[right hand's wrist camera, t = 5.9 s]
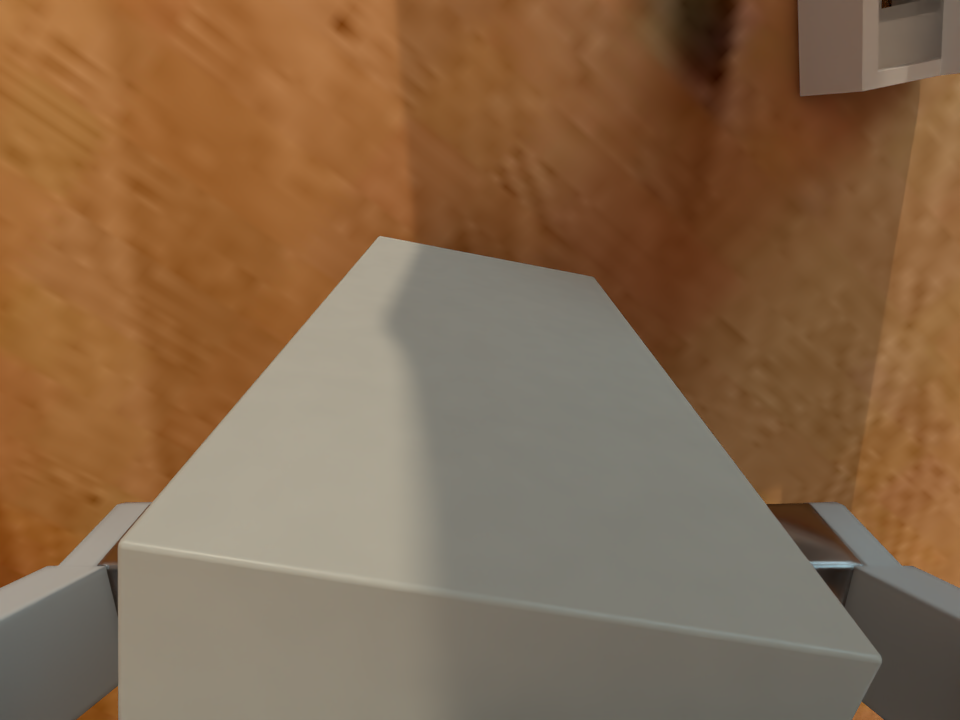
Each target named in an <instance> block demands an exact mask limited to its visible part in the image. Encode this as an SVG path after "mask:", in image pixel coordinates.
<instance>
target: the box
mask: <svg viewBox="0 0 960 720" xmlns="http://www.w3.org/2000/svg"><path fill="white" fill-rule="evenodd" d="M881 664H882V658H881V655H880V654H879V653H878V651H877V650H876V649H875V647H874V646H873V645H872V643H871V642H870V641H869V640H868V638H867V637H866V636H865V634H864V633H863V632H862V630H861V629H860V628H859V626H858V625H857V624H856V622H855V621H854V620H853V618H852V617H851V616H850V614H849V613H848V612H847V611H846V609H845V608H844V607H843V605H842V604H841V603H840V601H839V600H838V599H837V597H836V596H835V595H834V593H833V592H832V591H831V589H830V588H829V587H828V585H827V584H826V583H825V581H824V580H823V579H822V578H821V576H820V575H819V574H818V572H817V571H816V570H815V568H814V567H813V566H812V564H811V563H810V562H809V560H808V559H807V558H806V556H805V555H804V554H803V552H802V551H801V550H800V549H799V547H798V546H797V545H796V543H795V542H794V541H793V539H792V538H791V537H790V535H789V534H788V533H787V531H786V530H785V529H784V527H783V526H782V525H781V523H780V522H779V521H778V519H777V518H776V517H775V516H774V514H773V513H772V512H771V510H770V509H769V508H768V506H767V505H766V504H765V502H764V501H763V500H762V498H761V497H760V496H759V494H758V493H757V492H756V490H755V489H754V488H753V487H752V485H751V484H750V483H749V481H748V480H747V479H746V477H745V476H744V475H743V473H742V472H741V471H740V469H739V468H738V467H737V465H736V464H735V463H734V461H733V460H732V459H731V457H730V456H729V455H728V454H727V452H726V451H725V450H724V448H723V447H722V446H721V444H720V443H719V442H718V440H717V439H716V438H715V436H714V435H713V434H712V432H711V431H710V430H709V428H708V427H707V426H706V425H705V423H704V422H703V421H702V419H701V418H700V417H699V415H698V414H697V413H696V411H695V410H694V409H693V407H692V406H691V405H690V403H689V402H688V401H687V399H686V398H685V397H684V395H683V394H682V393H681V392H680V390H679V389H678V388H677V386H676V385H675V384H674V382H673V381H672V380H671V378H670V377H669V376H668V374H667V373H666V372H665V370H664V369H663V368H662V366H661V365H660V364H659V363H658V361H657V360H656V359H655V357H654V356H653V355H652V353H651V352H650V351H649V349H648V348H647V347H646V345H645V344H644V343H643V341H642V340H641V339H640V337H639V336H638V335H637V333H636V332H635V331H634V330H633V328H632V327H631V326H630V324H629V323H628V322H627V320H626V319H625V318H624V316H623V315H622V314H621V312H620V311H619V310H618V308H617V307H616V306H615V304H614V303H613V302H612V301H611V299H610V298H609V297H608V295H607V294H606V293H605V291H604V290H603V289H602V287H601V286H600V285H599V283H598V282H597V281H596V279H595V278H594V277H592V276H587V275H581V274H576V273H571V272H566V271H560V270H555V269H550V268H545V267H539V266H534V265H529V264H524V263H519V262H513V261H508V260H503V259H498V258H492V257H487V256H482V255H477V254H471V253H466V252H461V251H456V250H451V249H445V248H440V247H435V246H430V245H424V244H419V243H414V242H409V241H404V240H398V239H393V238H388V237H383V236H379V237H378V238H377V239H376V240H375V241H374V243H373V244H372V245H371V246H370V247H369V248H368V250H367V251H366V252H365V253H364V254H363V256H362V257H361V258H360V259H359V260H358V261H357V263H356V264H355V265H354V266H353V267H352V268H351V270H350V271H349V272H348V273H347V274H346V276H345V277H344V278H343V279H342V280H341V281H340V283H339V284H338V285H337V286H336V287H335V288H334V290H333V291H332V292H331V293H330V294H329V295H328V297H327V298H326V299H325V300H324V301H323V303H322V304H321V305H320V306H319V307H318V308H317V310H316V311H315V312H314V313H313V314H312V315H311V317H310V318H309V319H308V320H307V321H306V322H305V324H304V325H303V326H302V327H301V328H300V330H299V331H298V332H297V333H296V334H295V335H294V337H293V338H292V339H291V340H290V341H289V342H288V344H287V345H286V346H285V347H284V348H283V349H282V351H281V352H280V353H279V354H278V355H277V357H276V358H275V359H274V360H273V361H272V362H271V364H270V365H269V366H268V367H267V368H266V369H265V371H264V372H263V373H262V374H261V375H260V376H259V378H258V379H257V380H256V381H255V382H254V384H253V385H252V386H251V387H250V388H249V389H248V391H247V392H246V393H245V394H244V395H243V396H242V398H241V399H240V400H239V401H238V402H237V404H236V405H235V406H234V407H233V408H232V409H231V411H230V412H229V413H228V414H227V415H226V416H225V418H224V419H223V420H222V421H221V422H220V423H219V425H218V426H217V427H216V428H215V429H214V431H213V432H212V433H211V434H210V435H209V436H208V438H207V439H206V440H205V441H204V442H203V443H202V445H201V446H200V447H199V448H198V449H197V450H196V452H195V453H194V454H193V455H192V456H191V458H190V459H189V460H188V461H187V462H186V463H185V465H184V466H183V467H182V468H181V469H180V470H179V472H178V473H177V474H176V475H175V476H174V477H173V479H172V480H171V481H170V482H169V483H168V485H167V486H166V487H165V488H164V489H163V490H162V492H161V493H160V494H159V495H158V496H157V497H156V499H155V500H154V501H153V502H152V503H151V504H150V506H149V507H148V508H147V509H146V510H145V512H144V513H143V514H142V515H141V516H140V517H139V519H138V520H137V521H136V522H135V523H134V524H133V526H132V527H131V528H130V529H129V530H128V532H127V533H126V534H125V535H124V536H123V537H122V539H121V540H120V542H119V543H118V720H852V718H853V716H854V715H855V713H856V711H857V709H858V707H859V705H860V703H861V701H862V700H863V698H864V696H865V694H866V692H867V690H868V688H869V686H870V685H871V683H872V681H873V679H874V677H875V675H876V673H877V671H878V669H879V668H880V666H881Z"/></svg>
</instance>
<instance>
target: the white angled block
mask: <svg viewBox="0 0 960 720" xmlns="http://www.w3.org/2000/svg"><path fill="white" fill-rule="evenodd" d="M881 7H882V0H798V29H799V72H800V96H811V95H823V94H836V93H849V92H861V91H867V90H871V89H876V88H881V87H886V86H891V85H895V84H900V83H905V82H910V81H915V80H919V79H924V78H929V77H934V76H939V75H947V74H957V73H960V0H892V2H891V7H887V8H883V9H881Z"/></svg>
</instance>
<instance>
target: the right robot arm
mask: <svg viewBox="0 0 960 720" xmlns="http://www.w3.org/2000/svg"><path fill="white" fill-rule="evenodd" d="M151 503H152V502H126V503H121V504H117V505H116V506H115V507H114V508H113V509H112V510H111V511H110V512H109V514H108V515H107V516H106V517H105V518H104V519H103V520H102V521H101V522H100V523H99V524H98V525H97V526H96V527H95V528H94V529H93V530H92V531H91V532H90V533H89V534H88V535H87V536H86V537H85V538H84V540H83V541H82V542H81V543H80V544H79V545H78V546H77V547H76V548H75V549H74V550H73V551H72V552H71V553H70V554H69V555H68V556H67V557H66V558H65V559H64V560H63V561H62V562H61V563H60V564H59V566H46V567H44V568H42V569H40V570H38V571H36V572H34V573H31V574H29V575H27V576H25V577H23V578H21V579H19V580H17V581H14V582H12V583H10V584H8V585H6V586H4V587H2V588H0V720H76V719H77V718H79V717H80V716H81V715H82V714H83V713H85V712H86V711H87V710H88V709H90V708H91V707H92V706H93V705H95V704H96V703H97V702H98V701H100V700H101V699H102V698H103V697H104V696H106V695H107V694H108V693H109V692H111V691H112V690H113V689H114V688H116V687H117V686H118V543H119V542H120V540H121V539H122V537H123V536H124V535H125V534H126V533H127V532H128V530H129V529H130V528H131V527H132V526H133V524H134V523H135V522H136V521H137V520H138V519H139V517H140V516H141V515H142V514H143V513H144V512H145V510H146V509H147V508H148V507H149V506H150V504H151ZM766 505H767V506H768V508H769V509H770V510H771V512H772V513H773V514H774V516H775V517H776V518H777V519H778V521H779V522H780V523H781V525H782V526H783V527H784V529H785V530H786V531H787V533H788V534H789V535H790V537H791V538H792V539H793V541H794V542H795V543H796V545H797V546H798V547H799V549H800V550H801V551H802V552H803V554H804V555H805V556H806V558H807V559H808V560H809V562H810V563H811V564H812V566H813V567H814V568H815V570H816V571H817V572H818V574H819V575H820V576H821V578H822V579H823V580H824V581H825V583H826V584H827V585H828V587H829V588H830V589H831V591H832V592H833V593H834V595H835V596H836V597H837V599H838V600H839V601H840V603H841V604H842V605H843V607H844V608H845V609H846V611H847V612H848V613H849V614H850V616H851V617H852V618H853V620H854V621H855V622H856V624H857V625H858V626H859V628H860V629H861V630H862V632H863V633H864V634H865V636H866V637H867V638H868V640H869V641H870V642H871V643H872V645H873V646H874V647H875V649H876V650H877V651H878V653H879V654H880V655H881V658H882V664H881V666H880V668H879V669H878V671H877V673H876V675H875V677H874V679H873V681H872V683H871V685H870V686H869V688H868V690H867V692H866V694H865V696H864V698H863V700H862V702H863V703H864V704H866V705H867V706H868V707H869V708H871V709H872V710H873V711H874V712H875V713H877V714H878V715H879V716H880V717H882V718H883V719H884V720H960V588H958V587H956V586H954V585H952V584H950V583H948V582H945V581H943V580H941V579H939V578H937V577H935V576H933V575H931V574H929V573H926V572H924V571H922V570H920V569H918V568H916V567H914V566H902V565H901V564H900V563H899V562H898V561H897V560H896V559H895V558H894V557H893V556H892V555H891V554H890V553H889V552H888V551H887V550H886V549H885V548H884V547H883V546H882V545H881V544H880V543H879V541H878V540H877V539H876V538H875V537H874V536H873V535H872V534H871V533H870V532H869V531H868V530H867V529H866V528H865V527H864V526H863V525H862V524H861V523H860V522H859V521H858V520H857V519H856V518H855V516H854V515H853V514H852V513H851V512H850V511H849V510H848V509H847V508H846V507H845V506H844V505H842V504H839V503H837V502H815V503H794V504H766Z"/></svg>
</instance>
